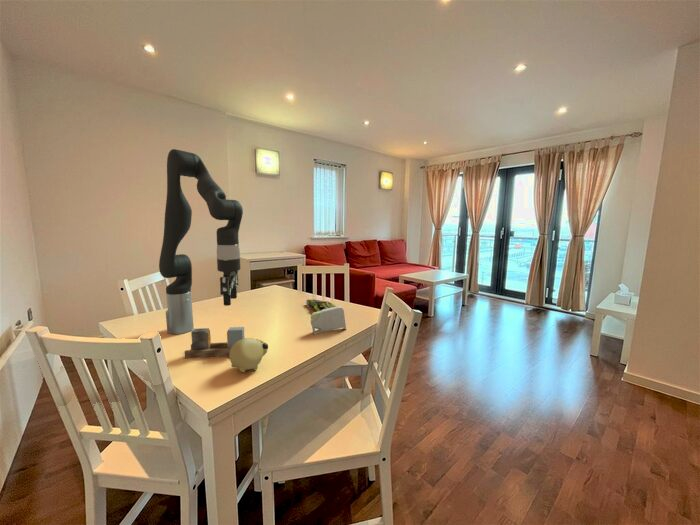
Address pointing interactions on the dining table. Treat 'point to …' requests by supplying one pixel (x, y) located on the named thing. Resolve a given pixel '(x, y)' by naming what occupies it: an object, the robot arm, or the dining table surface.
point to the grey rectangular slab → (328, 319)
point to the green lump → (320, 303)
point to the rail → (209, 352)
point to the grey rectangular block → (234, 335)
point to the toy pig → (247, 353)
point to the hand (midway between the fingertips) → (230, 301)
